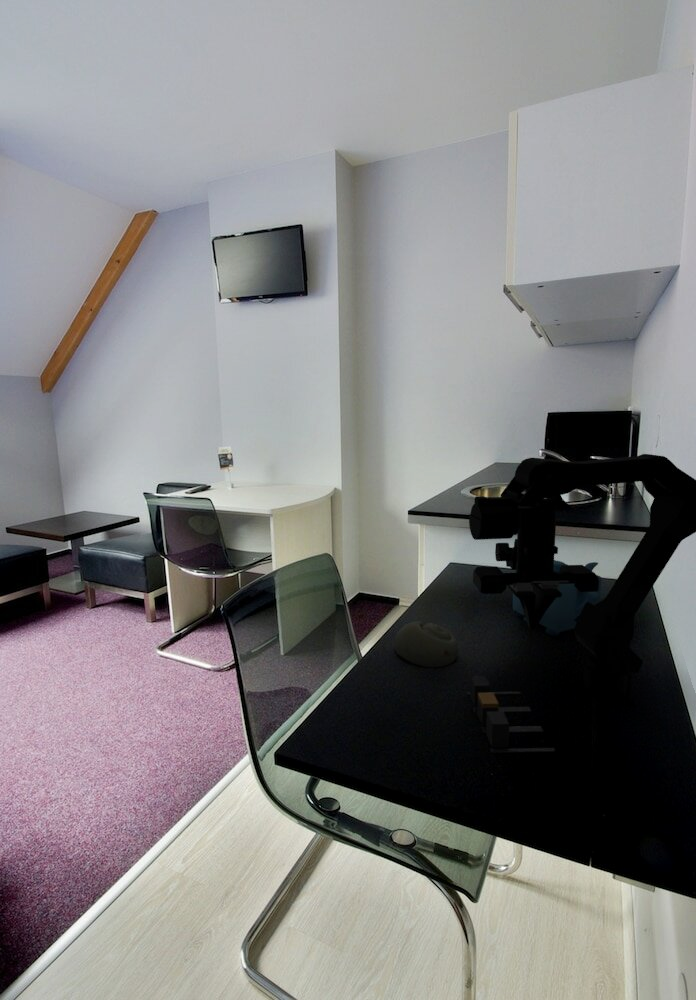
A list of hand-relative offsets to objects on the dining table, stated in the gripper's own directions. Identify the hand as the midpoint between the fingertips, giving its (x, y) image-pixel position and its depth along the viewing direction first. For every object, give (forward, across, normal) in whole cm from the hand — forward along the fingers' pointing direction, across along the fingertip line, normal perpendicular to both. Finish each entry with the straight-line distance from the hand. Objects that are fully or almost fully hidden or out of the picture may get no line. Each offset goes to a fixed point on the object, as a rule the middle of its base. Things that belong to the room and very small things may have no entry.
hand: (531, 628), depth 83 cm
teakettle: (+13, -16, -31) cm, 37 cm away
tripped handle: (+12, +9, +7) cm, 17 cm away
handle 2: (+12, +9, +12) cm, 19 cm away
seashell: (+13, +16, -14) cm, 25 cm away
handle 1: (+12, +9, +2) cm, 15 cm away
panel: (+13, +6, +7) cm, 16 cm away
